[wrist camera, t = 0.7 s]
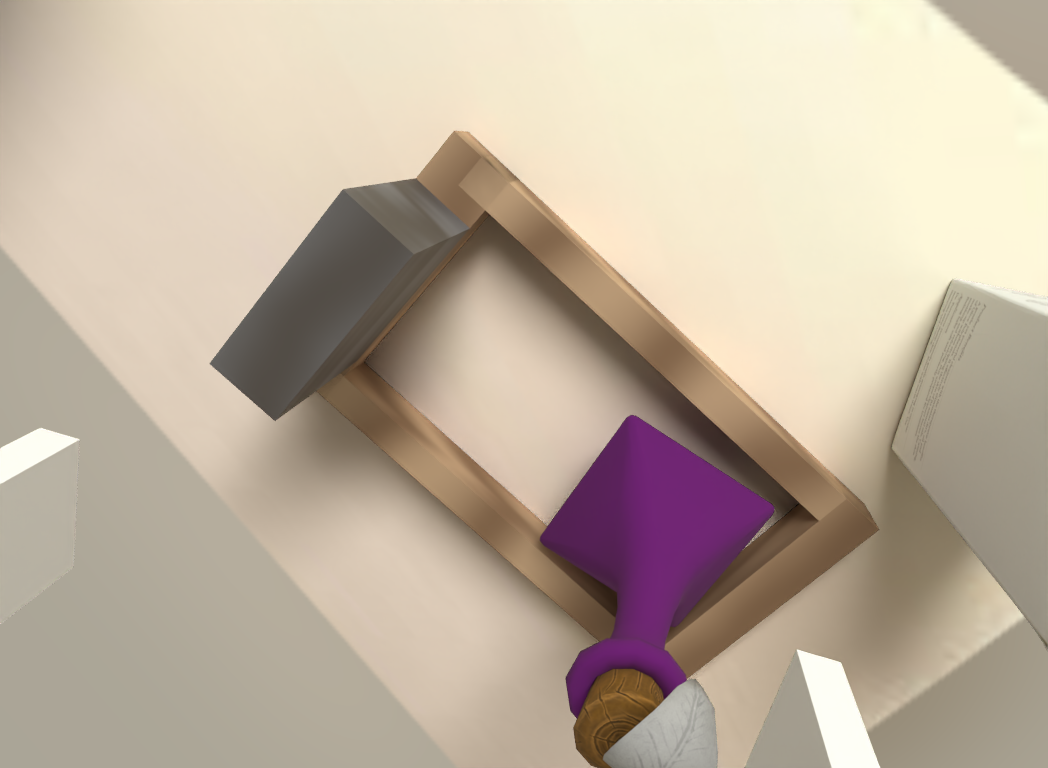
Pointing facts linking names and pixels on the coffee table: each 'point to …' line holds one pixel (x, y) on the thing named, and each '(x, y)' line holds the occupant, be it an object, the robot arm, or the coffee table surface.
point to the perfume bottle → (649, 593)
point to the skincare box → (987, 434)
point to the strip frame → (448, 472)
